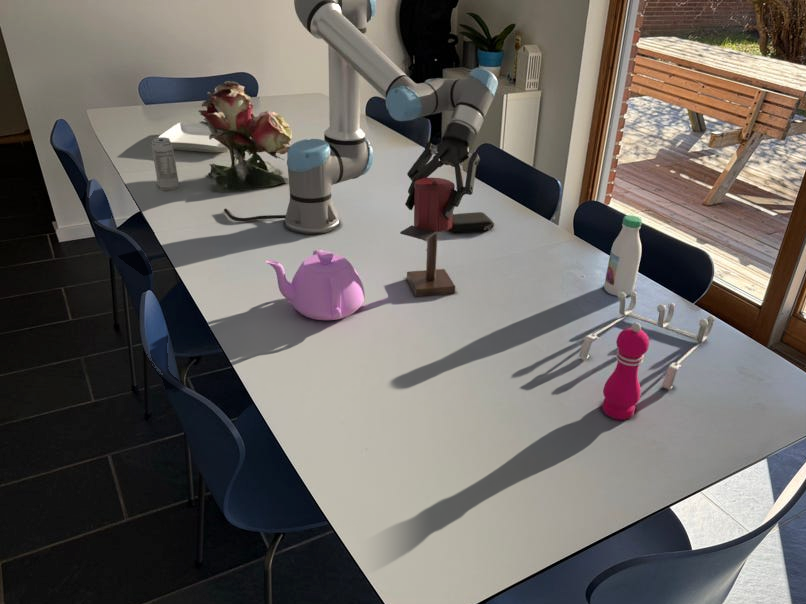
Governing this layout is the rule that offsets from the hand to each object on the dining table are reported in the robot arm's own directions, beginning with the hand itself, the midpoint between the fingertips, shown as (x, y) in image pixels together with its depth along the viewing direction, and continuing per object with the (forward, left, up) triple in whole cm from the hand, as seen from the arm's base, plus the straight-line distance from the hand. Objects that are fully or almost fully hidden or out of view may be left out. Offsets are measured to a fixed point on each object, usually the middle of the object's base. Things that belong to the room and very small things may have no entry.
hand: (427, 212), depth 170 cm
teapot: (-27, -5, -21) cm, 34 cm away
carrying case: (+23, +37, -21) cm, 49 cm away
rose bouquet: (-38, +90, -21) cm, 100 cm away
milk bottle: (+50, -9, -21) cm, 55 cm away
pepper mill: (+25, -57, -21) cm, 66 cm away
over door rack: (+43, -37, -21) cm, 60 cm away
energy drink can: (-62, +82, -21) cm, 105 cm away
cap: (+1, +1, -4) cm, 4 cm away
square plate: (-51, +128, -21) cm, 140 cm away
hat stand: (+2, +2, -21) cm, 21 cm away
